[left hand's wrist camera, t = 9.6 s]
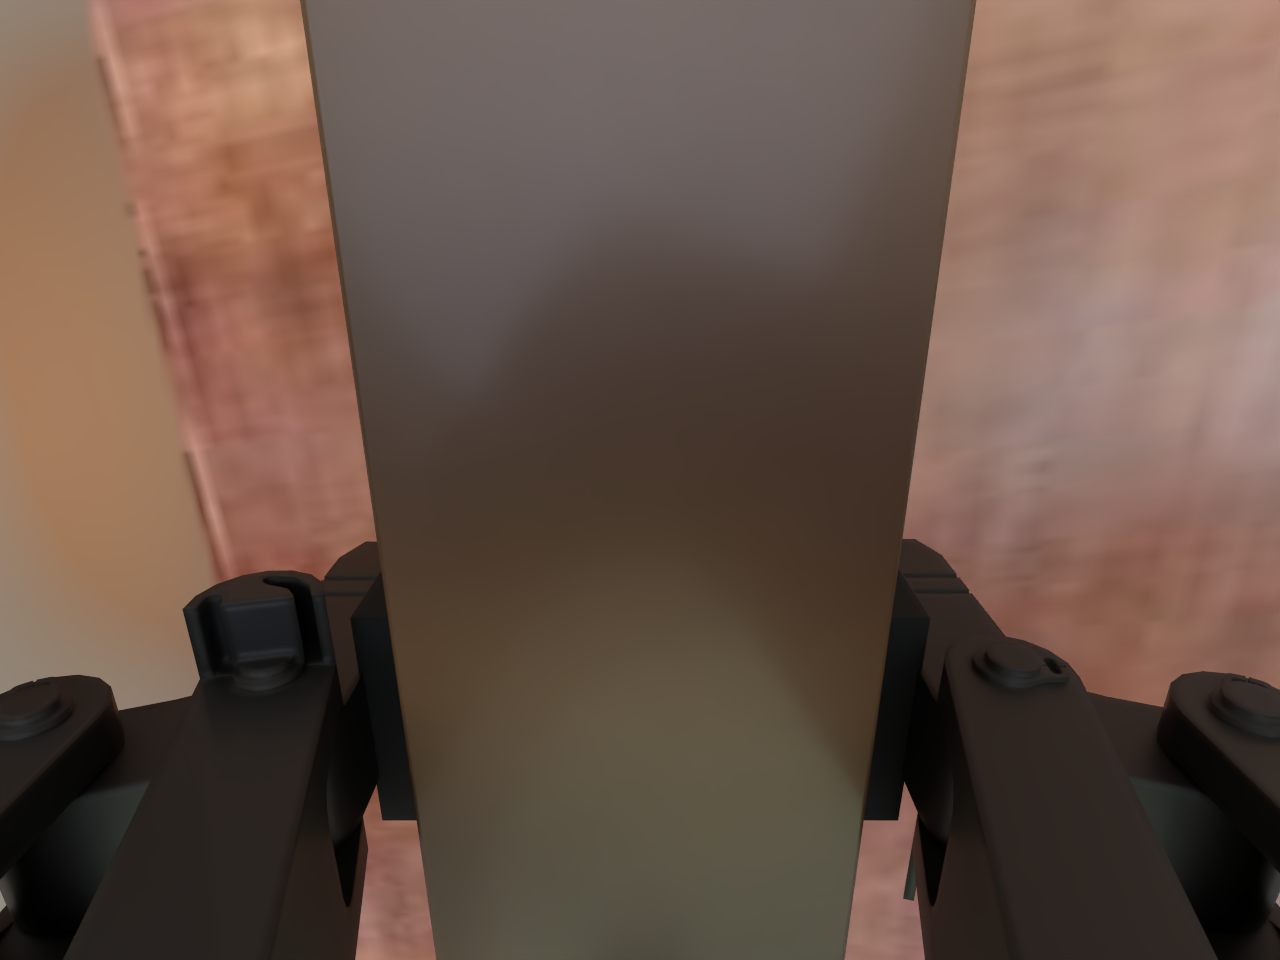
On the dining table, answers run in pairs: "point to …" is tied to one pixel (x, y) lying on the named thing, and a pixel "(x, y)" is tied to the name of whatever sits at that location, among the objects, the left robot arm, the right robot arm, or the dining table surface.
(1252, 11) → the dining table surface
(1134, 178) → the dining table surface
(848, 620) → the wooden plank
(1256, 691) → the left robot arm
